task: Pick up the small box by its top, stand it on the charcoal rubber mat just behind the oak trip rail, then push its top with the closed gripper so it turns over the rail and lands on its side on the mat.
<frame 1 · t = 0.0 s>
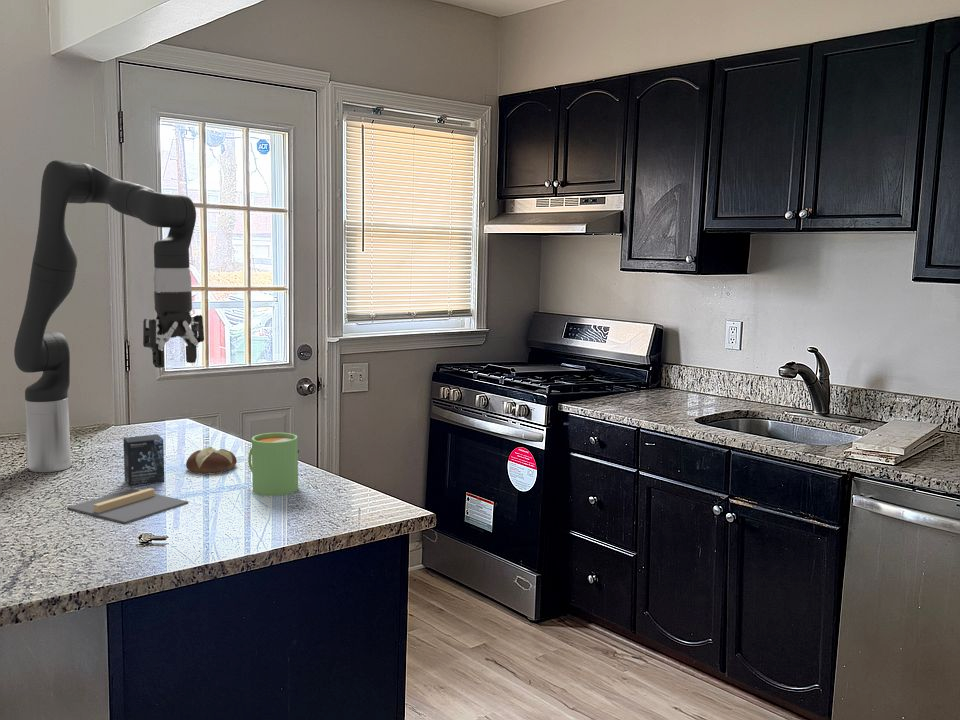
hand: (175, 364, 185), 29 cm above the worktop, fingers open, 8 cm apart
box: (144, 483, 201), on the worktop
mat: (128, 506, 183), on the worktop
mug: (271, 489, 197), on the worktop
bread: (212, 470, 213), on the worktop
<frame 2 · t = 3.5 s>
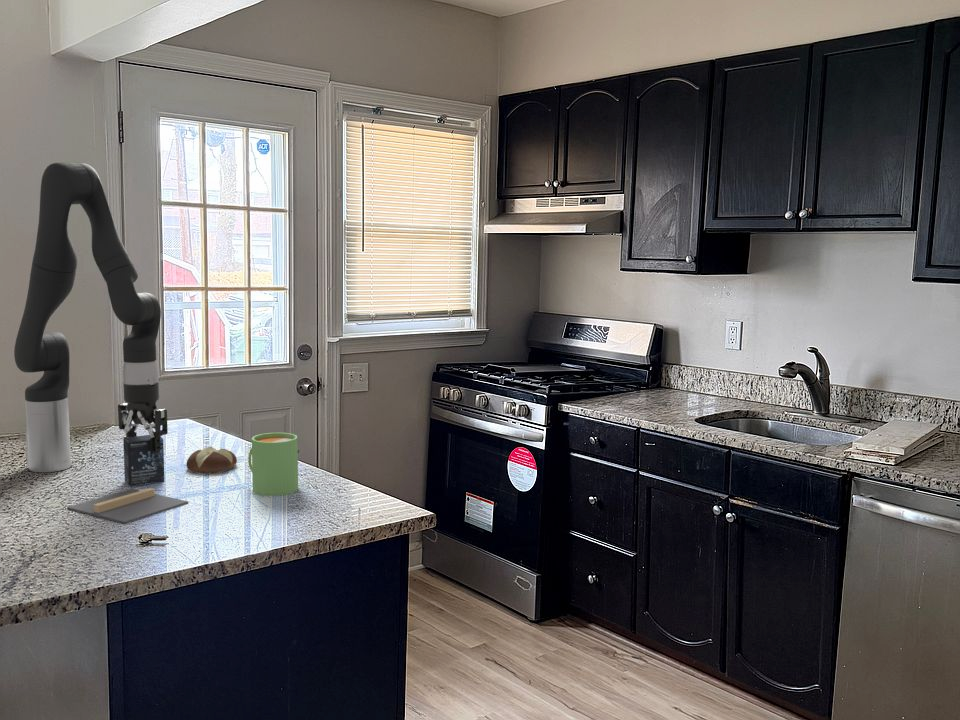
hand: (143, 450, 200), 7 cm above the worktop, fingers closed on box, 7 cm apart
box: (144, 482, 201), on the worktop, touching gripper
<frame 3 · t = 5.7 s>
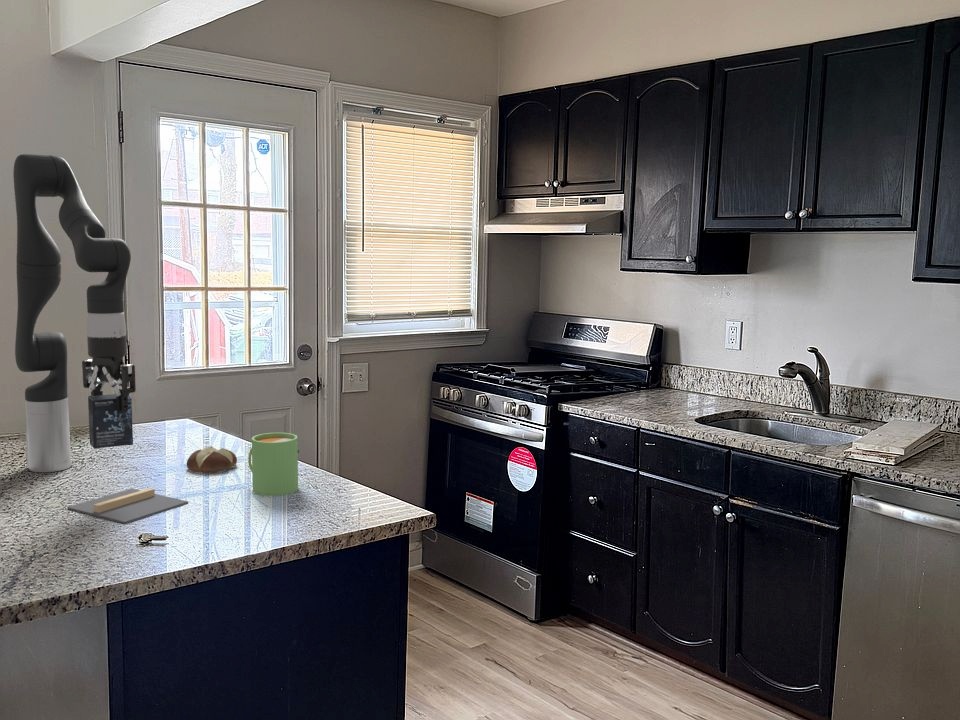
hand: (110, 410, 184), 20 cm above the worktop, fingers closed on box, 7 cm apart
box: (111, 445, 185), point 12 cm above the worktop, touching gripper
everything else where it was.
when the fingers open (9 cm above the worktop, at t = 8.3 s): box stays where it is, resting on mat.
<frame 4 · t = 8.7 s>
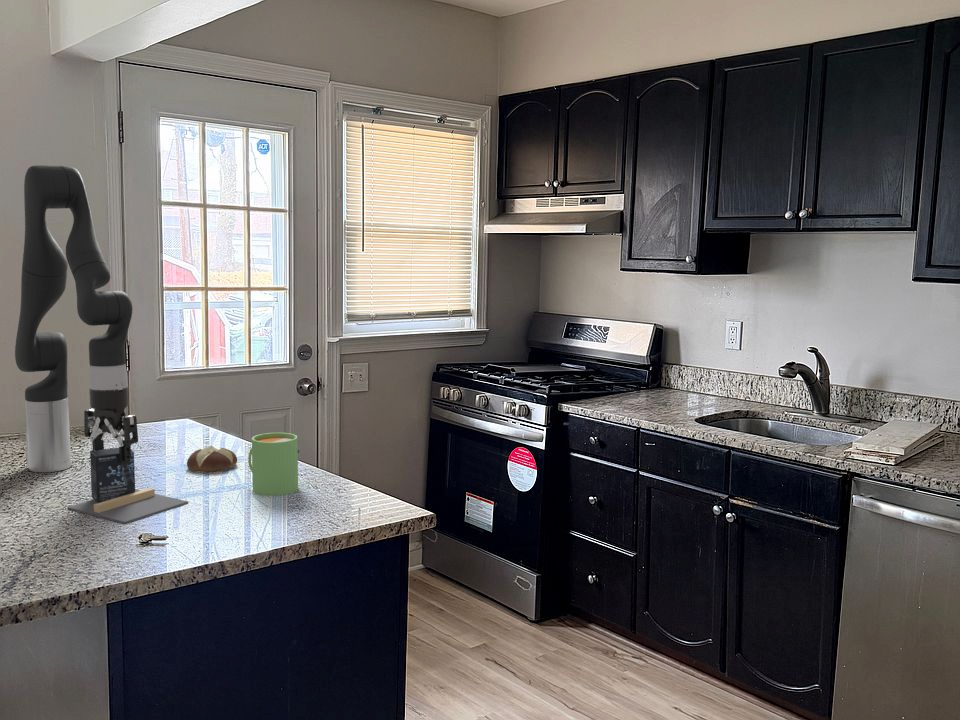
hand: (112, 460, 185), 9 cm above the worktop, fingers open, 8 cm apart
box: (113, 499, 186), resting on mat
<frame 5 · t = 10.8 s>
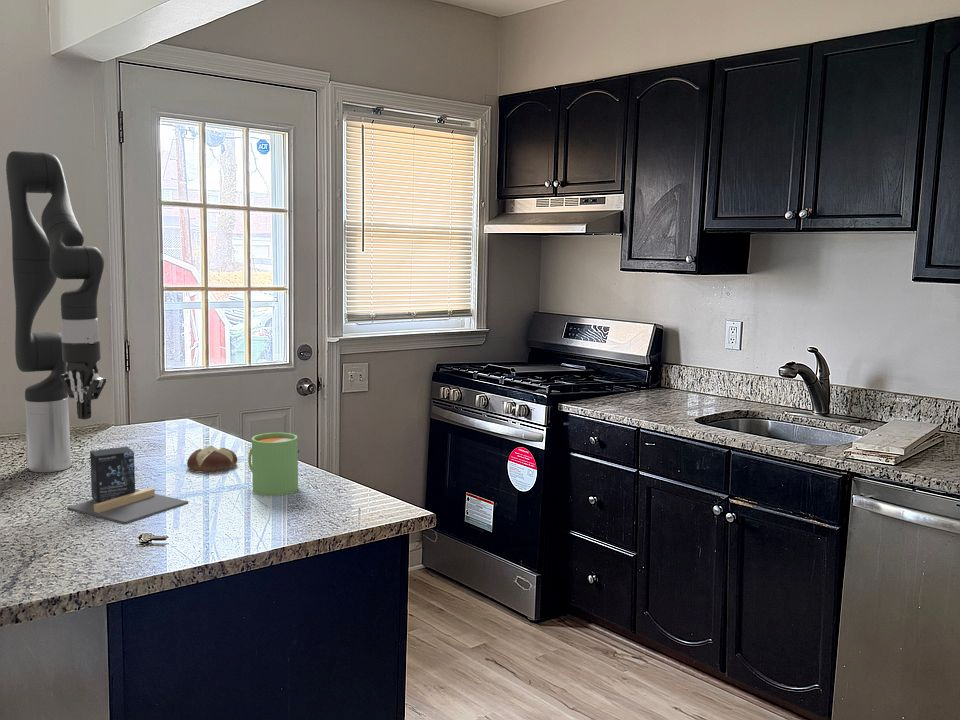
hand: (84, 418, 188), 17 cm above the worktop, fingers closed
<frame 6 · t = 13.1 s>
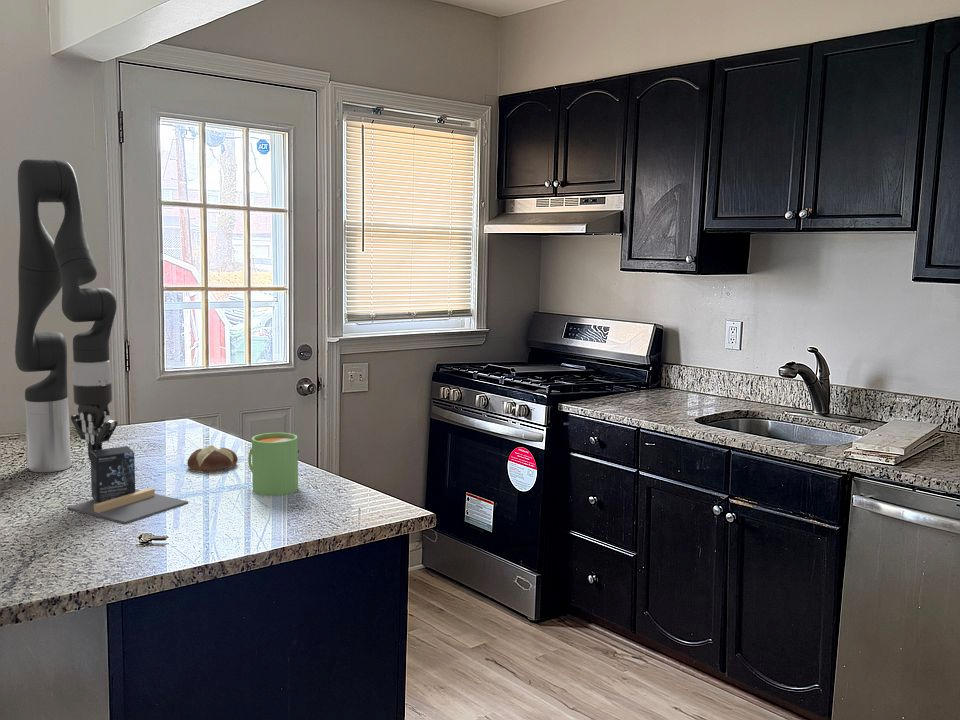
hand: (95, 460, 188), 8 cm above the worktop, fingers closed
box: (113, 499, 186), resting on mat, touching gripper
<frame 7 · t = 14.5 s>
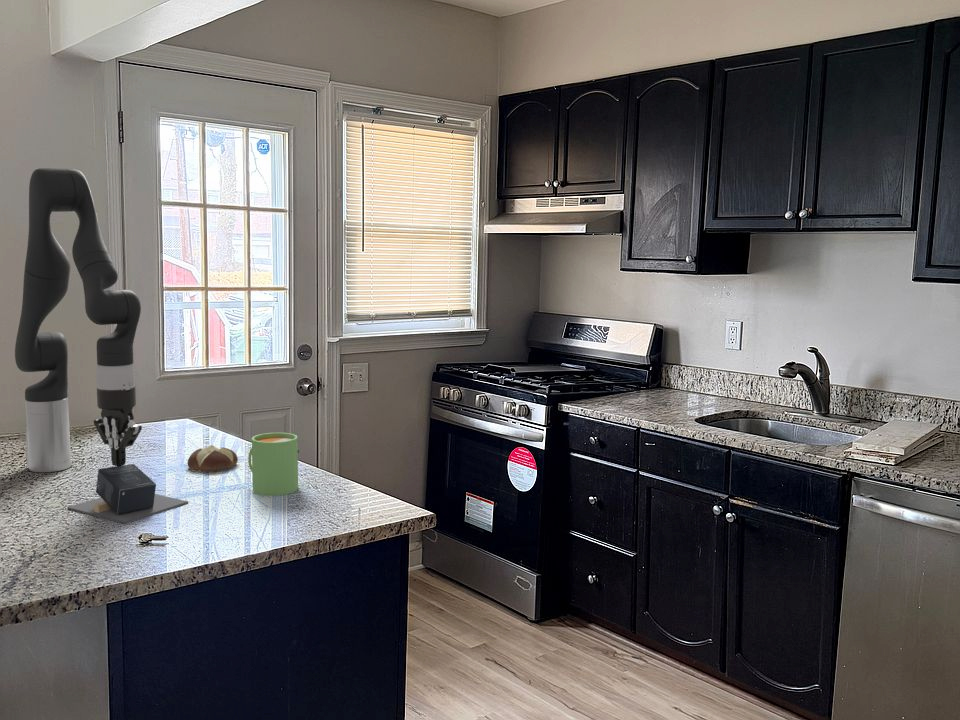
hand: (118, 465, 184), 8 cm above the worktop, fingers closed
box: (114, 477, 184), point 6 cm above the worktop, touching gripper
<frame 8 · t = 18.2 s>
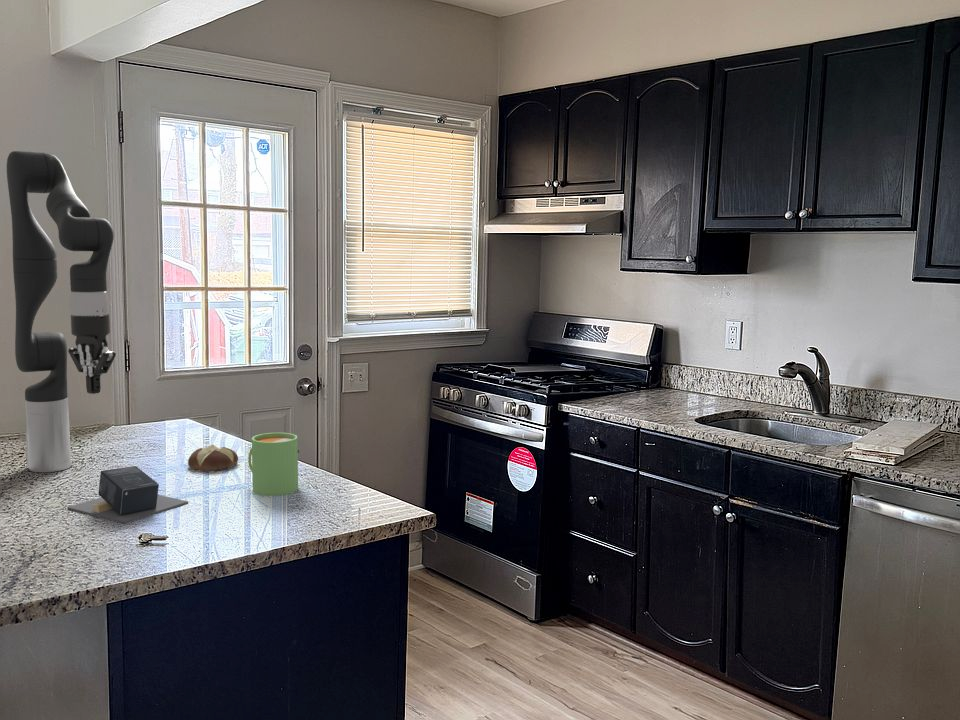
hand: (93, 393, 186), 23 cm above the worktop, fingers closed
box: (117, 479, 183), point 5 cm above the worktop, touching mat
at the end: box tilted 101°; box inside the target area on the mat (7.2 cm from its centre), point 5.3 cm above the mat's base; the gripper is holding nothing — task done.
